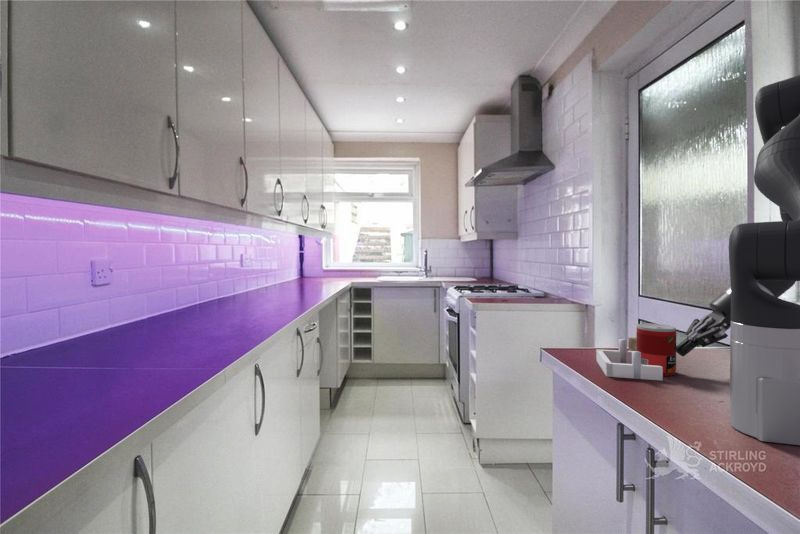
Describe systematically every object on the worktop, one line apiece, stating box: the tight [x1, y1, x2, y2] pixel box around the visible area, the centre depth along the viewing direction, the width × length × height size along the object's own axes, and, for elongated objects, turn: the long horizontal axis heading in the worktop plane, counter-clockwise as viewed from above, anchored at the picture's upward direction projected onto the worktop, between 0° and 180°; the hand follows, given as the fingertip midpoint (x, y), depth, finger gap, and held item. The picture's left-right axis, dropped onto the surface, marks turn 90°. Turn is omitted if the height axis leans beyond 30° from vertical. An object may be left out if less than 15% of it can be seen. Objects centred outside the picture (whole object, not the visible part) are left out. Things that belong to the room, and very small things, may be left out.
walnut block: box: [627, 336, 637, 351], centre depth 106 cm, size 5×5×5 cm
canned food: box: [636, 322, 677, 377], centre depth 93 cm, size 8×8×11 cm
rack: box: [595, 338, 664, 382], centre depth 95 cm, size 15×11×6 cm
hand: (677, 352), depth 91 cm, fingers closed
